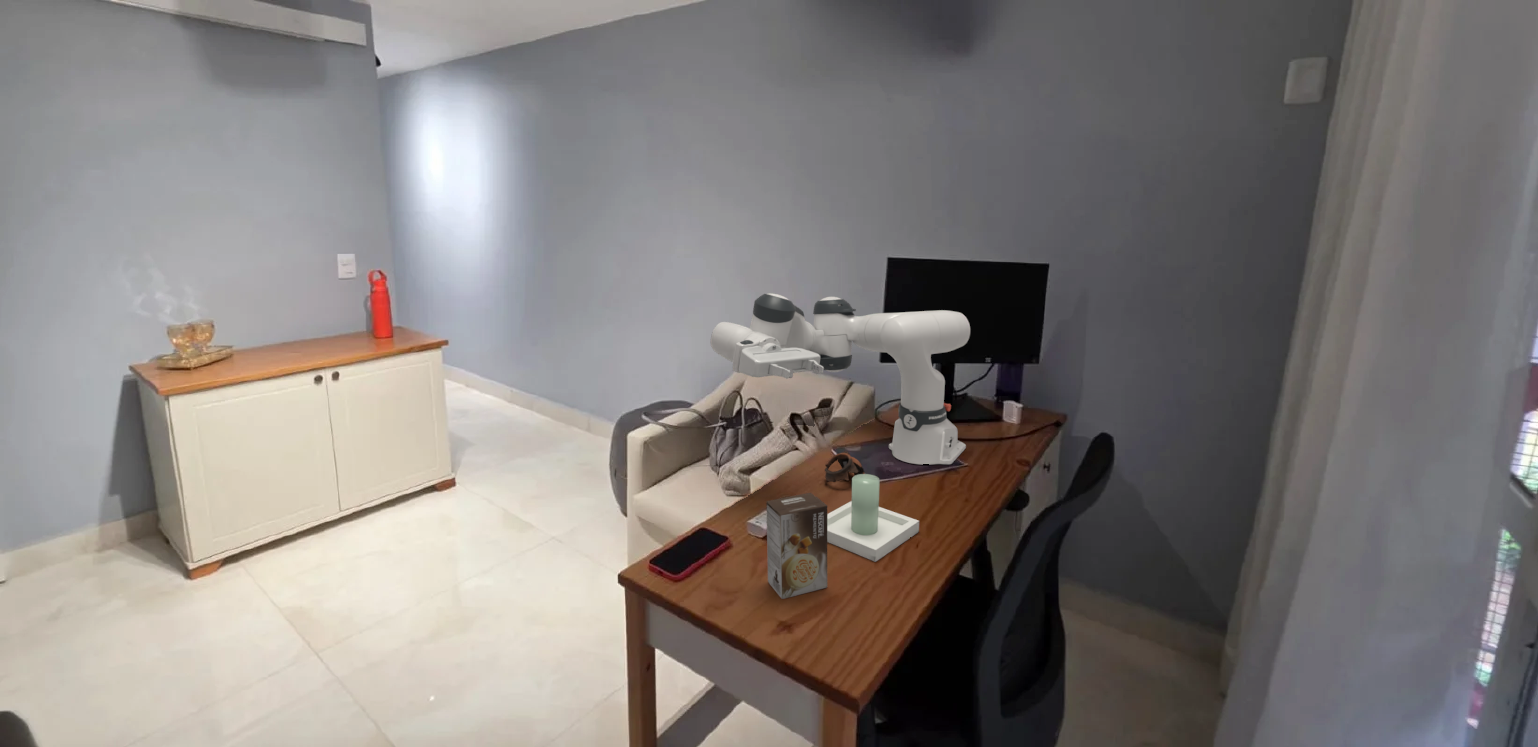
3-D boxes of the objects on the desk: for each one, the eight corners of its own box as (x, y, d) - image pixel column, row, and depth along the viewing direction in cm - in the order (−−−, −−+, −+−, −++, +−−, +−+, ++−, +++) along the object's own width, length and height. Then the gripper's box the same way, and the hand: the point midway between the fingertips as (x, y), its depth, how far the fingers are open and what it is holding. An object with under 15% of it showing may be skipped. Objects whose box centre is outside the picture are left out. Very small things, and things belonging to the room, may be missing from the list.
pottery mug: (871, 491, 159) (857, 466, 155) (835, 505, 161) (820, 481, 158) (865, 460, 169) (852, 437, 166) (832, 474, 172) (818, 451, 168)
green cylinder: (860, 520, 141) (861, 471, 138) (883, 527, 137) (884, 478, 135) (845, 529, 137) (846, 480, 134) (868, 538, 133) (869, 487, 131)
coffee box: (811, 570, 124) (812, 491, 120) (828, 588, 118) (829, 505, 114) (766, 581, 120) (765, 500, 116) (781, 600, 114) (780, 515, 110)
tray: (855, 508, 148) (855, 498, 148) (918, 531, 138) (919, 520, 137) (810, 534, 137) (810, 523, 136) (875, 561, 127) (875, 550, 126)
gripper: (792, 363, 158) (835, 382, 149) (726, 371, 144) (769, 391, 135) (796, 338, 156) (840, 355, 147) (730, 343, 142) (774, 362, 133)
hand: (806, 372), depth 141 cm, fingers open, 8 cm apart
